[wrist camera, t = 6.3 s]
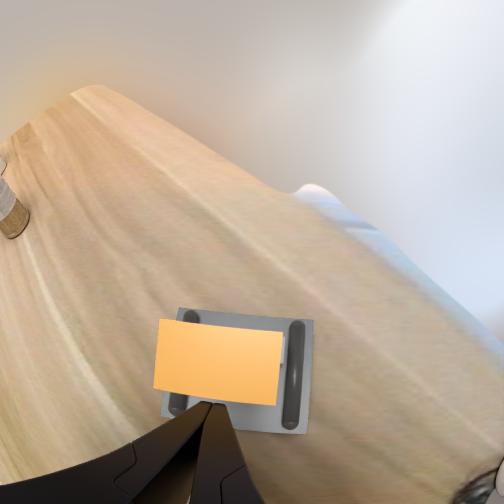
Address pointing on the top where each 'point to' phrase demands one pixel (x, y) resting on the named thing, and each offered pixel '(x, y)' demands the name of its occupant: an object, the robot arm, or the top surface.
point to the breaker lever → (218, 362)
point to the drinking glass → (500, 480)
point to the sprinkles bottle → (11, 212)
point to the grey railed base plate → (289, 383)
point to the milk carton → (2, 165)
